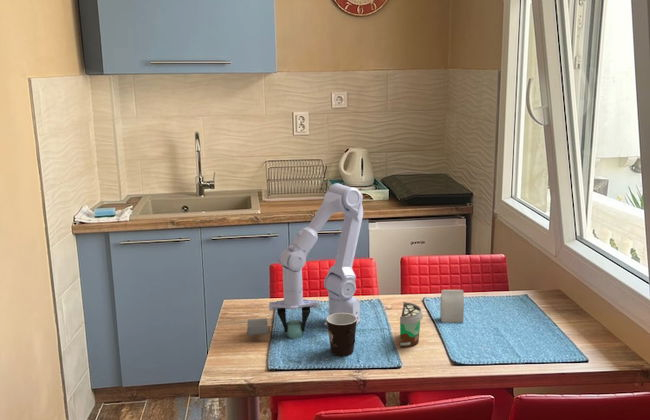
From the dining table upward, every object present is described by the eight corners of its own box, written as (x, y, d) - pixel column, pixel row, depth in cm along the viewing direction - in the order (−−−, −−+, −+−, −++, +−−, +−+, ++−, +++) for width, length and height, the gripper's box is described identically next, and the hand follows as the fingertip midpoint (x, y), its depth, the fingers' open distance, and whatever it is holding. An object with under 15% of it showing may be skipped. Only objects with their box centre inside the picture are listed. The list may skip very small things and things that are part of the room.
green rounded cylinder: (304, 333, 197) (304, 321, 196) (298, 339, 193) (297, 326, 192) (291, 331, 199) (290, 319, 198) (284, 336, 195) (283, 324, 194)
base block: (270, 333, 199) (270, 325, 199) (270, 343, 192) (269, 335, 192) (247, 334, 199) (247, 326, 198) (246, 344, 192) (246, 336, 191)
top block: (267, 326, 199) (267, 318, 198) (268, 334, 193) (267, 326, 192) (248, 327, 198) (247, 319, 197) (247, 335, 192) (247, 327, 192)
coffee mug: (327, 344, 189) (326, 312, 187) (357, 344, 189) (356, 312, 187) (326, 363, 178) (325, 329, 176) (357, 363, 178) (357, 329, 175)
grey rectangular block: (463, 322, 203) (464, 292, 201) (441, 322, 203) (442, 292, 201) (461, 317, 207) (462, 288, 204) (440, 317, 207) (440, 288, 205)
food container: (421, 351, 184) (421, 318, 181) (399, 349, 185) (399, 317, 183) (423, 333, 195) (424, 302, 193) (403, 332, 197) (403, 301, 194)
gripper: (268, 294, 189) (270, 337, 192) (317, 292, 189) (319, 335, 193) (268, 286, 195) (270, 327, 199) (316, 283, 196) (317, 325, 199)
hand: (294, 330), depth 196 cm, fingers closed on green rounded cylinder, 5 cm apart
